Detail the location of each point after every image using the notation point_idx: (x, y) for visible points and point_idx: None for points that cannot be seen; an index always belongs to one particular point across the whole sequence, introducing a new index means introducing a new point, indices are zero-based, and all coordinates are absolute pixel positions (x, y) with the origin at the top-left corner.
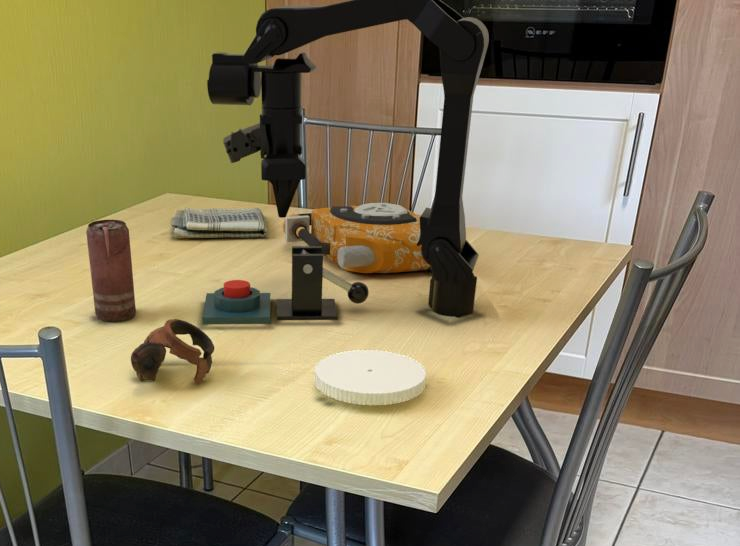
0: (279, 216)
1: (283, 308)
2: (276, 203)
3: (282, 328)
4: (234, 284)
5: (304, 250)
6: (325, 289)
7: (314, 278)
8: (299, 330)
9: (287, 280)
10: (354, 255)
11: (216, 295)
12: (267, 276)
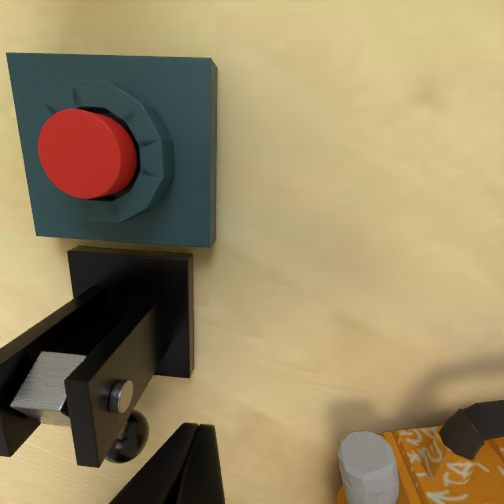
0: (180, 427)
1: (120, 269)
2: (115, 497)
3: (57, 255)
4: (72, 147)
5: (54, 412)
6: (305, 366)
7: None
8: (51, 287)
9: (388, 294)
10: (346, 486)
11: (69, 88)
12: (435, 247)
